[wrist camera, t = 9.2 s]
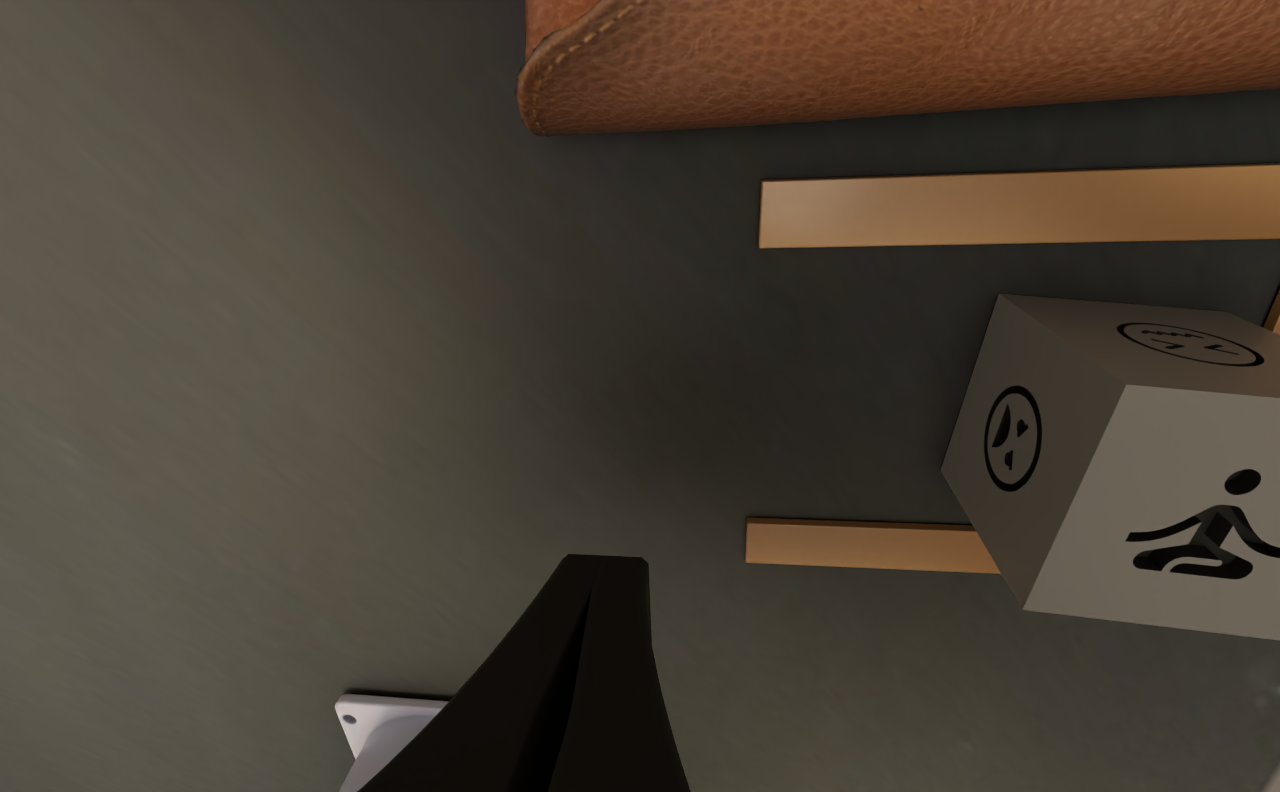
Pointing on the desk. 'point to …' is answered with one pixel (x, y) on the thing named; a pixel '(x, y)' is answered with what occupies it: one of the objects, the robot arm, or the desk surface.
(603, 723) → the robot arm
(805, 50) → the sunglasses case
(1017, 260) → the desk surface
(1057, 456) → the dice cube
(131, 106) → the desk surface
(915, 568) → the cork bay
